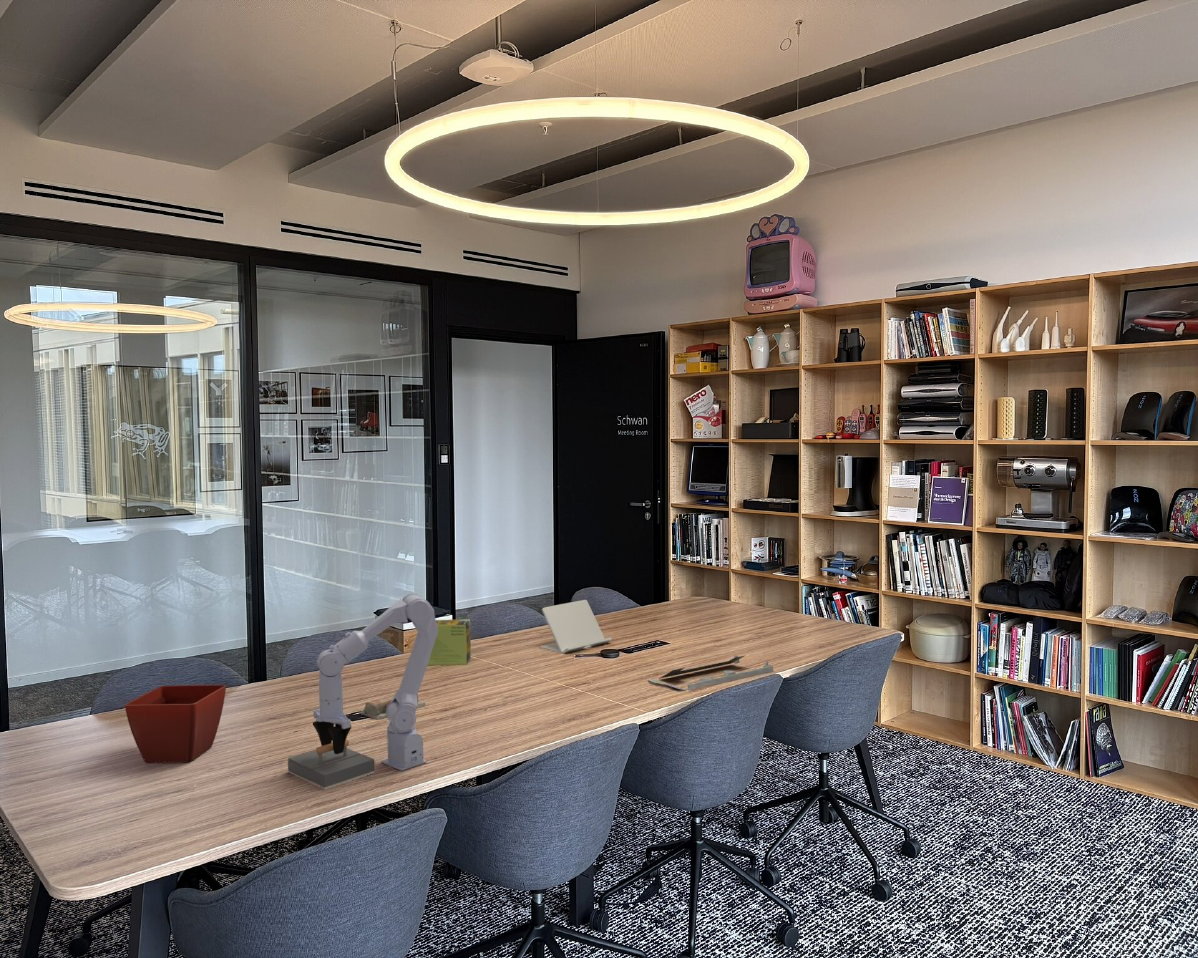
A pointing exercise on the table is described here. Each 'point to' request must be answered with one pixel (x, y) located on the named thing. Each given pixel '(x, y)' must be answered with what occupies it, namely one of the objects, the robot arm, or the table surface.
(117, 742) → the table surface
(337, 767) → the charcoal shallow open tray
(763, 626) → the table surface
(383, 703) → the packaged product
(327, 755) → the grill press
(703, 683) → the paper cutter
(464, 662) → the protein box
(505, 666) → the table surface
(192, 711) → the plant pot
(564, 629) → the tablet stand
